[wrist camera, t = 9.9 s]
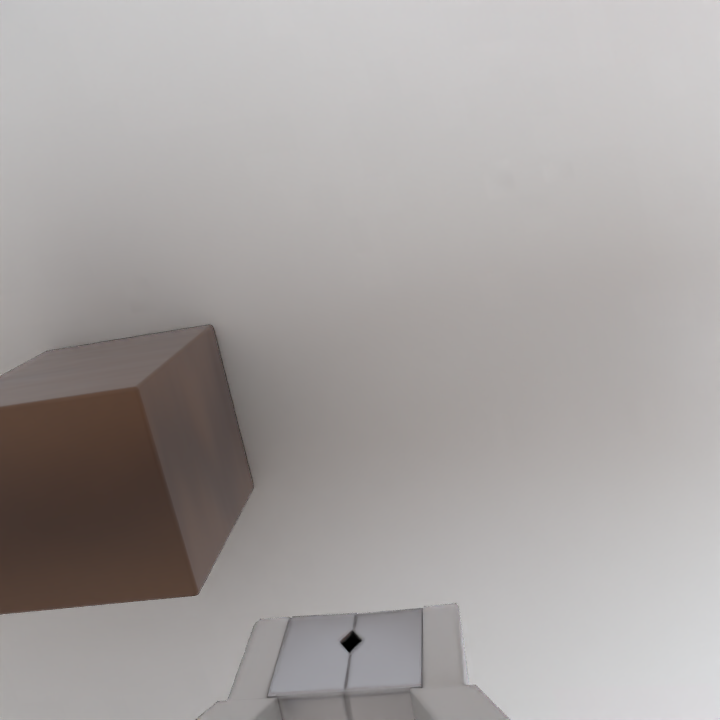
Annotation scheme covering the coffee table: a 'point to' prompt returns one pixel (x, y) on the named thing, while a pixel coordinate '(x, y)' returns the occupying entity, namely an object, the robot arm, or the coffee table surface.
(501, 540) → the coffee table surface
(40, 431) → the middle block
